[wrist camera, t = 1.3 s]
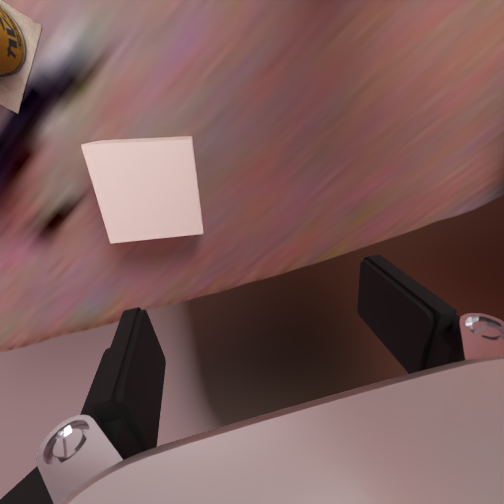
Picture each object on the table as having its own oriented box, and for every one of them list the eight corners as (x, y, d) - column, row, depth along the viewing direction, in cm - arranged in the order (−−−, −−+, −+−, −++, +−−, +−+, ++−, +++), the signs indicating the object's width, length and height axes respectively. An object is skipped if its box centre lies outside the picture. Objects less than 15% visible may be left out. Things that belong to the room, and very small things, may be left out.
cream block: (100, 140, 30) (81, 144, 25) (192, 136, 31) (191, 139, 26) (123, 224, 34) (110, 243, 29) (201, 217, 36) (203, 233, 31)
